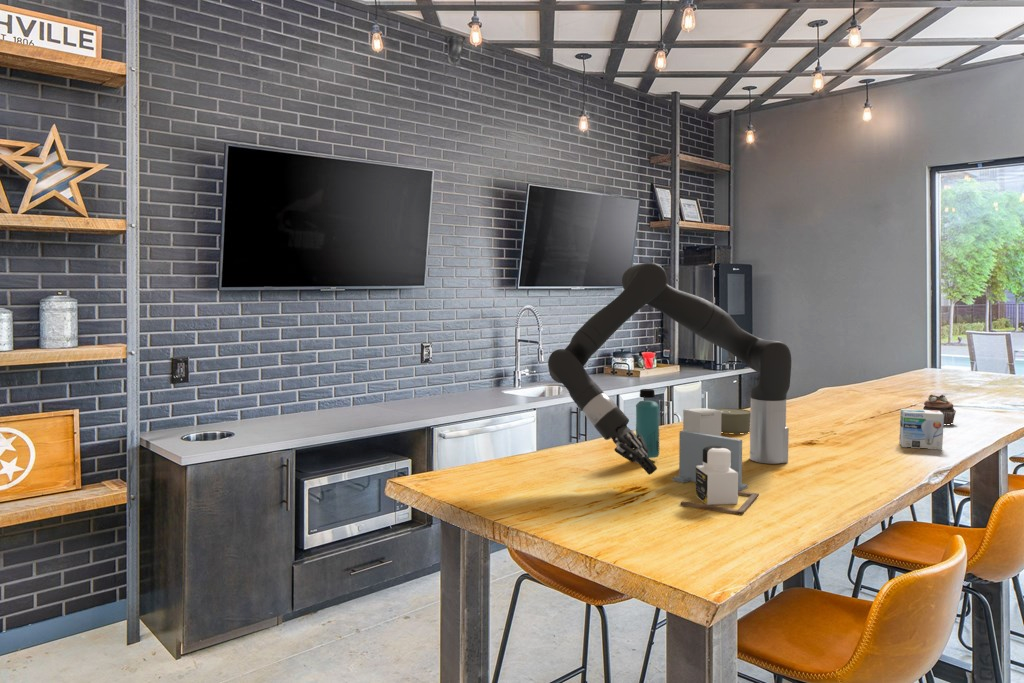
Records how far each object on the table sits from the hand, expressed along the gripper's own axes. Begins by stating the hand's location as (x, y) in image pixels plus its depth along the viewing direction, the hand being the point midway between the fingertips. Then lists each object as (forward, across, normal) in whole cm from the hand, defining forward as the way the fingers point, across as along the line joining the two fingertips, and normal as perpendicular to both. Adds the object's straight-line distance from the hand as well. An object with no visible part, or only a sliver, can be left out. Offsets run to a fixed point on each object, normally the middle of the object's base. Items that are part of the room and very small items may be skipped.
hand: (653, 471), depth 160 cm
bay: (+14, 0, -8) cm, 16 cm away
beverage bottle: (-5, +27, +12) cm, 30 cm away
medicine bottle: (+14, 0, -7) cm, 15 cm away
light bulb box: (+41, +84, -34) cm, 99 cm away
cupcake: (+44, +129, -37) cm, 142 cm away
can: (+2, +80, +5) cm, 80 cm away
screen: (+10, +12, -4) cm, 16 cm away
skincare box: (+6, +27, +1) cm, 27 cm away
